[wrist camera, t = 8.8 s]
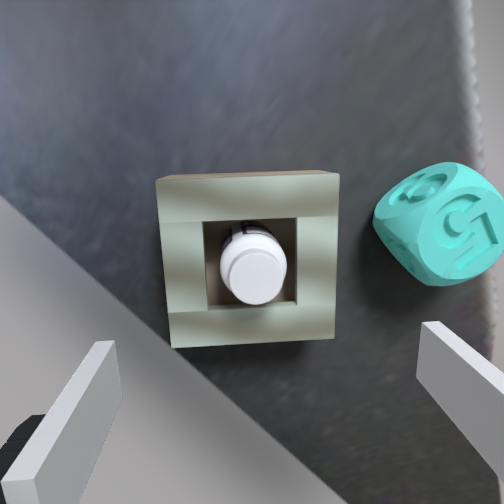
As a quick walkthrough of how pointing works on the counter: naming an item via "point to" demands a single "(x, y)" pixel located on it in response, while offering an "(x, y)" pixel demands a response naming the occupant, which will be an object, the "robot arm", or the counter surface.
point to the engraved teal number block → (442, 224)
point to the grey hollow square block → (208, 255)
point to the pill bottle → (252, 262)
